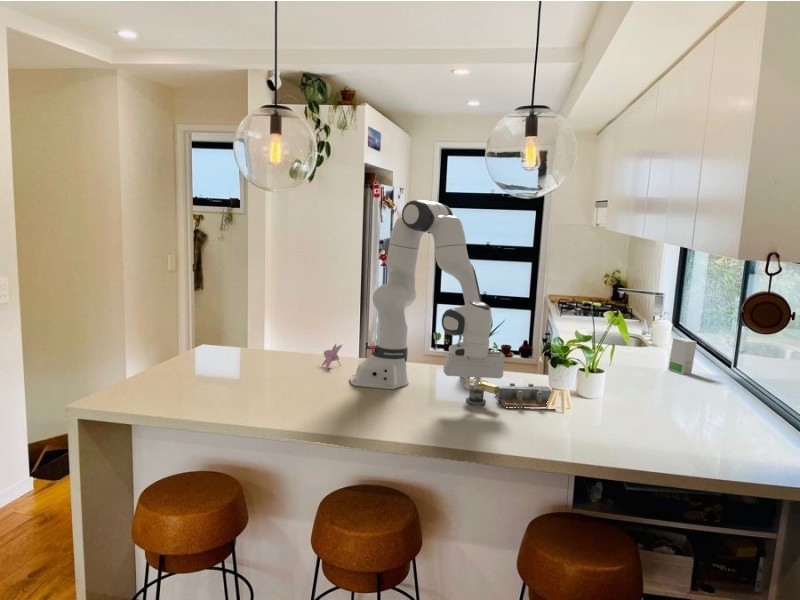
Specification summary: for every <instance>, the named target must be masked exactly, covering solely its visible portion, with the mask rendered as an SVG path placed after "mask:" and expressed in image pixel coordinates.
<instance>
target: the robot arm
mask: <svg viewBox="0 0 800 600" xmlns="http://www.w3.org/2000/svg"><path fill="white" fill-rule="evenodd" d="M425 233H427V234H431V236H432V238H433V244H434V255H435V261H436V263H437V266H438V267H439V268H440V269H441V270H442V271H443V272H444V273H446V274H448V275H450V276H452V277H453V278H455V279H456V280H457V281H458V283H459V284H460V286H461V287H460V288H461V291H462V295H463V300H464V304H463V305H462V306H459V307H453V308H452V307H451V308H449V309H446V310H445V311H444V313H443V314H442V316H441V327H442V329H443V331H444V332H445V333H446V334H447V335H449V336H453V337H454V336H462V342H459V343H456V344H455V343H454V344H451V345H449V347H448V351H449V352H448V353H447V354H446V355H445V359H444V364H443V373H444V374H445V376H446V377H460V376H461V377H462V378H464V377H465V378H464V380H465V383H466V382H467V388H466V389H467V390H470V389H471V390H476V387H477V385H478V383H479V382H480V380H482V379H483V378H484V379H502V378H503V376H504V362H505V361H506V360H505V359H506V356H505V354H504V353H503V352H502V351H501V350H489V349H490V338H489V337H490V333H491V330H492V328H491V327H492V310H491V307H490V305H488V304H487V303H486V302H483V301H482V297H481V292H480V287H479V282H478V277H477V273H476V271H475V267H474V265H473V264H472V262H471V261H470V258H469V254H468V249H467V241H466V235H465V229H464V227H463V224H462V221H461V219H460V218H459V217H457V216H455V215H454V214H453V212H452V209H450V207H449V206H448V205H446V204H444V203H442V202H437V201H434V200H421V199H413V200H410V201H408V202H407V203H405V205H404V206H403V208H402V211H401V216H400V217H398V218H397V219H396V220H395V223H394V225H393V228H392V231H391V235H390V240H389V245H388V250H387V251H388V252H387V256H386V262H385V263H386V264H385V265H386V267H387V283H383V284H381V285H380V286H379V287H378V288H376V289H375V291H373V294H372V304H373V305H374V307H375V309H376V310H375V311H376V314H377V315H376V316H377V321H378V322H377V323H378V335H377V344H375V343H374V344H371V345H370V350H371V355H369V356H368V357H367V358H366V359H364V360H362V361H360V362H359V364H358V365H357V368H356V371H355V373H353V374H352V375H350V377H349V383H350V384H351V385H352V386H355V387H362V388H375V389H385V390H395V389H397V388H401V387H404V386H405V387H406V386H407V385H409V378H408V373H407V372H408V371H407V361H408V345H407V344H408V332H409V331H408V329H409V328H408V327H409V326H408V325H407V322H406V316H405V309H407V308H409V306H411V305H412V304H413V302H414V301H415V300H416V297H417V291H416V266H417V260H418V254H419V249H420V244H421V243H420V242H421V239H422V236H423V235H424V234H425ZM470 377H475V379H476V381H475V382H474V383H469V381H468V380H470ZM481 378H482V379H481Z"/></svg>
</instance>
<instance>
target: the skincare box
mask: <svg viewBox="0 0 800 600" xmlns="http://www.w3.org/2000/svg"><path fill="white" fill-rule="evenodd" d="M697 343H698V342H697V341H696V340H692V339H690V338H685V337H673V338H672V343H671V348H670V349H671V350H670V355H669V361H668V367H667V369H668V370H669V371H672V372H674V373H678V374H680V375H688V374H689V375H690V374H691V375H692V371H693V365H694V358H695V353H696V348H697Z"/></svg>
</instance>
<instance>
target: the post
mask: <svg viewBox="0 0 800 600" xmlns="http://www.w3.org/2000/svg"><path fill="white" fill-rule="evenodd" d="M484 392H485V391H474V390H470V389H469V394H468V395H469V396H468V397H466V398H465V402H466V404H469V405H473V406H484V405H486V404H487V400H486V399H485V398H484ZM485 403H486V404H485ZM483 404H484V405H483Z"/></svg>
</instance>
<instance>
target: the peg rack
mask: <svg viewBox="0 0 800 600" xmlns="http://www.w3.org/2000/svg"><path fill="white" fill-rule="evenodd" d="M515 385H516V384H515V383H514V382H510V383H509V386H515ZM527 387H534V384H533V383H528V385H527ZM495 395H497V393H495V394H494V396H495ZM522 396H523V392H522V391H518V393H517V400H510V399H499V400H500V401H501V402H502V404H503V405H504V406H505V408H504V409H507V408H506V407H508V408H509V407H513V408H514V407H516V408H518V407H519V408H521V407H522V408H524V407H546V406H547V404H546V403H547V402H546V401H542V392H537V398H536V400H522ZM499 400H498V401H499ZM500 401H499V402H500ZM502 404H501V405H502ZM503 405H502V406H503ZM504 406H503V407H504Z"/></svg>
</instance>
